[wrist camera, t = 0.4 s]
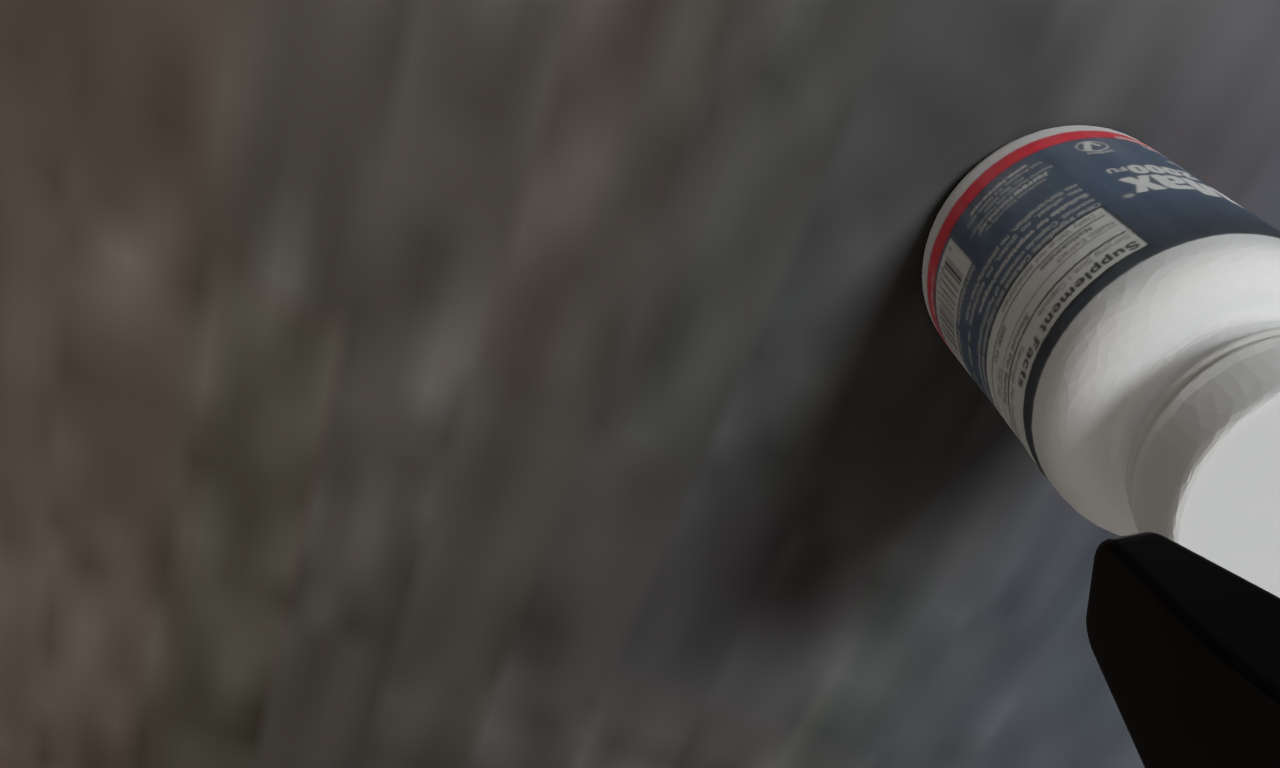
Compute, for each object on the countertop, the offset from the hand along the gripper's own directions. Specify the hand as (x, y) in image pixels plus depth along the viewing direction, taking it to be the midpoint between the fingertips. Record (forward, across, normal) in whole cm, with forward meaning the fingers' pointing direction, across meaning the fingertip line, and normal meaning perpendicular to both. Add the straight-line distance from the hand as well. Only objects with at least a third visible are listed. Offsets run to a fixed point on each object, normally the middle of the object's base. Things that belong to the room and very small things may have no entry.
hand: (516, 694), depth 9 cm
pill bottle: (+14, -11, +5) cm, 18 cm away
